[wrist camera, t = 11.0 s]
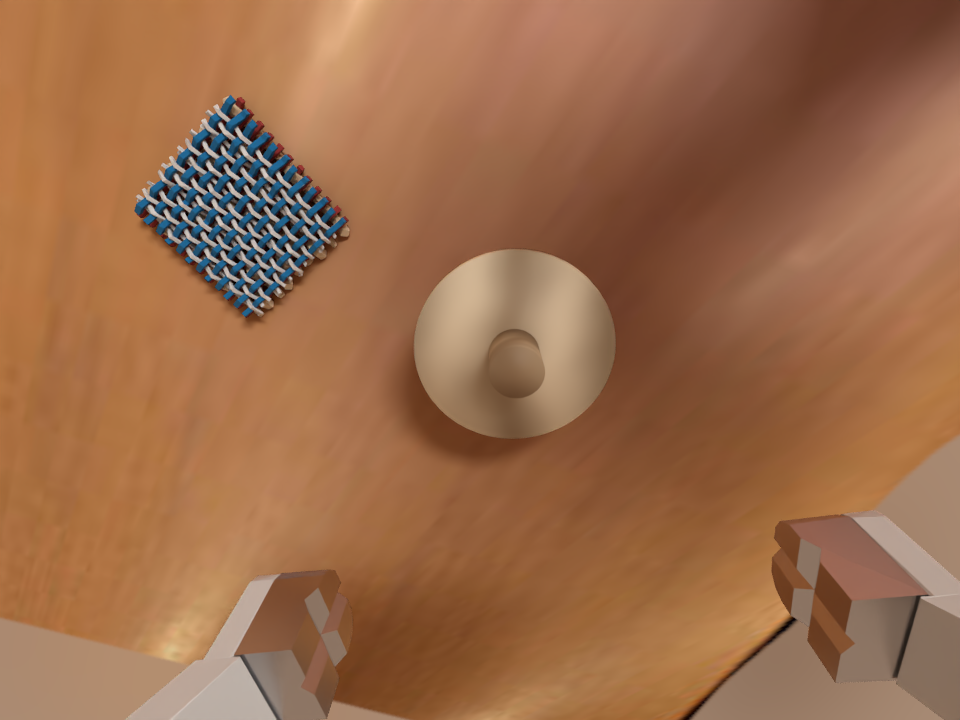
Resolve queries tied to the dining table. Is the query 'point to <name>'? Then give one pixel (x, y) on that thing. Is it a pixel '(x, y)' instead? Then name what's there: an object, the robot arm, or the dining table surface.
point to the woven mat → (240, 208)
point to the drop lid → (514, 343)
